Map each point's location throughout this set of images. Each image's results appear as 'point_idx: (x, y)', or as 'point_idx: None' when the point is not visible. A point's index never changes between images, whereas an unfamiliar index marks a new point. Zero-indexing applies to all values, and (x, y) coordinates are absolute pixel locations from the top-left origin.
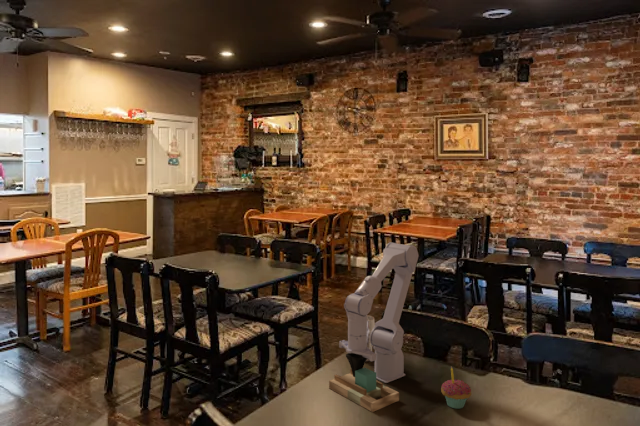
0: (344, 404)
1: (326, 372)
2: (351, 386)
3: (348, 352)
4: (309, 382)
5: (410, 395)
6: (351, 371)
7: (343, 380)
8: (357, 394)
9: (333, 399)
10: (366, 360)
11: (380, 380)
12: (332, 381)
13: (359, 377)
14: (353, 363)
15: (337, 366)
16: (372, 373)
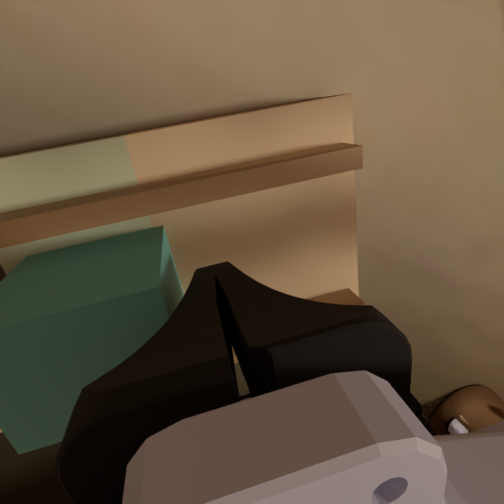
0: (44, 52)
1: (486, 198)
2: (140, 186)
3: (193, 431)
4: (467, 16)
5: (35, 462)
6: (350, 300)
7: (246, 169)
8: (15, 173)
9: (160, 19)
10: (438, 415)
11: (244, 399)
12: (326, 110)
13: (91, 279)
14: (203, 327)
15: (491, 283)
16: (12, 419)
